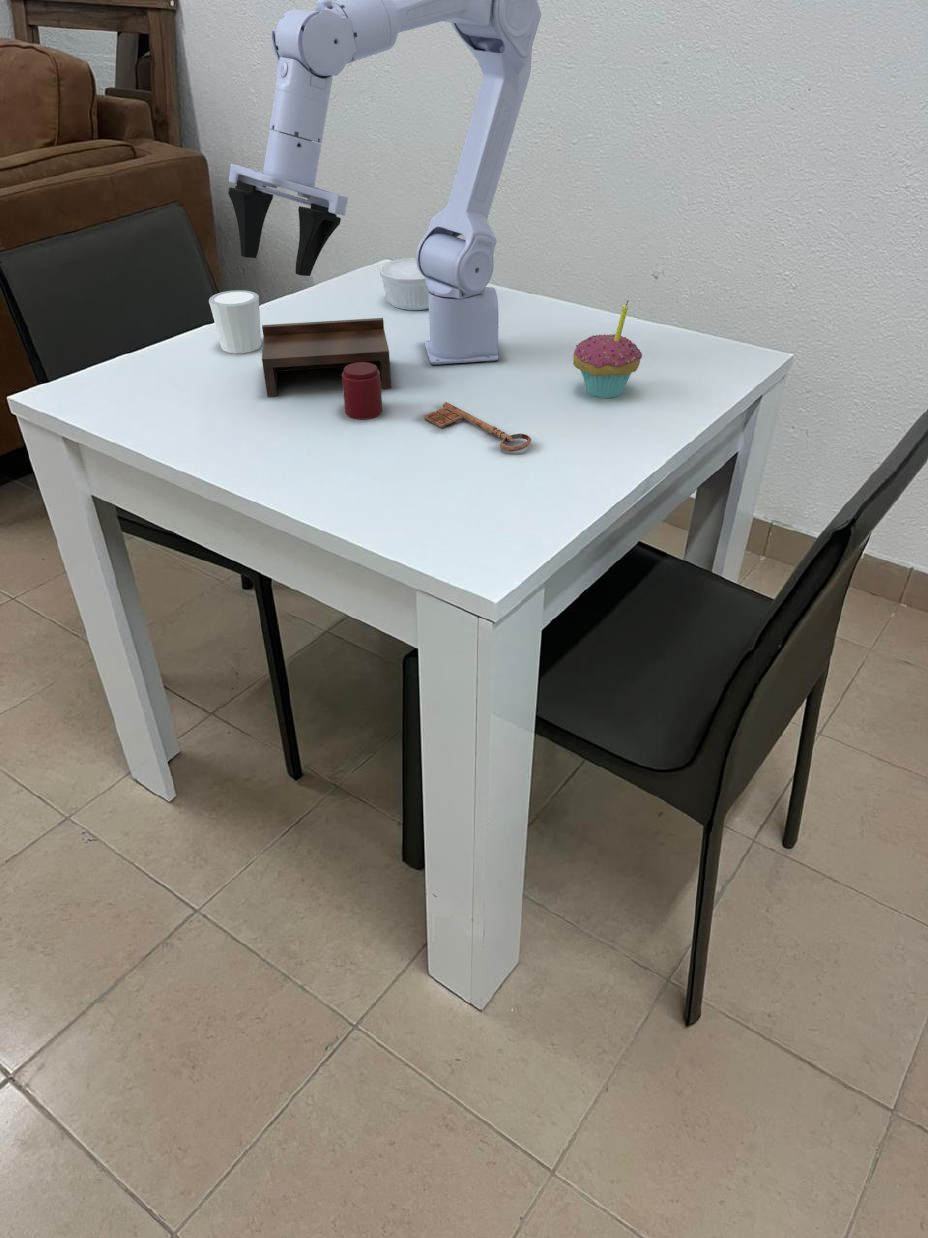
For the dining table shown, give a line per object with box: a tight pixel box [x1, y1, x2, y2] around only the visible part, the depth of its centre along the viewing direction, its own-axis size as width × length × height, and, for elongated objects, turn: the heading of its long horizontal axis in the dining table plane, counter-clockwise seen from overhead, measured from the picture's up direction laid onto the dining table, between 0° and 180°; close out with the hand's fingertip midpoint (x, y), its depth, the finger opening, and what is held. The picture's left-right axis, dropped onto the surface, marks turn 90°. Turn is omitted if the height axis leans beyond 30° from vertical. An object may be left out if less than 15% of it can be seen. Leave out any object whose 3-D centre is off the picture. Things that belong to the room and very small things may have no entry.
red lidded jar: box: [341, 362, 383, 420], centre depth 113 cm, size 5×5×6 cm
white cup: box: [208, 289, 262, 355], centre depth 130 cm, size 7×7×7 cm
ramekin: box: [379, 257, 429, 311], centre depth 146 cm, size 11×11×5 cm
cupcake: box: [572, 299, 643, 399], centre depth 115 cm, size 9×8×12 cm
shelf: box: [261, 317, 392, 398], centre depth 121 cm, size 16×9×6 cm, turn 99°
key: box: [423, 401, 532, 452], centre depth 109 cm, size 6×1×15 cm
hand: (275, 265), depth 106 cm, fingers open, 7 cm apart
